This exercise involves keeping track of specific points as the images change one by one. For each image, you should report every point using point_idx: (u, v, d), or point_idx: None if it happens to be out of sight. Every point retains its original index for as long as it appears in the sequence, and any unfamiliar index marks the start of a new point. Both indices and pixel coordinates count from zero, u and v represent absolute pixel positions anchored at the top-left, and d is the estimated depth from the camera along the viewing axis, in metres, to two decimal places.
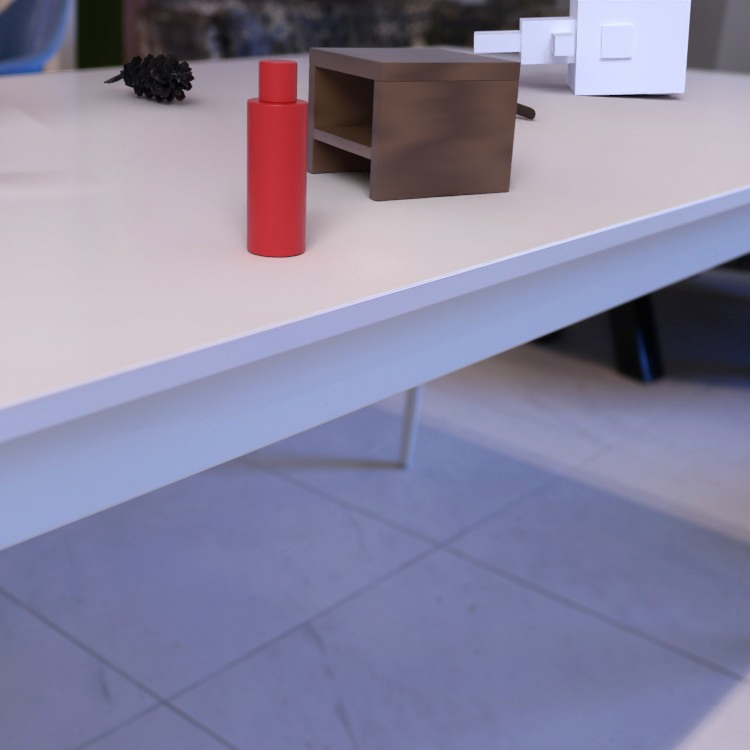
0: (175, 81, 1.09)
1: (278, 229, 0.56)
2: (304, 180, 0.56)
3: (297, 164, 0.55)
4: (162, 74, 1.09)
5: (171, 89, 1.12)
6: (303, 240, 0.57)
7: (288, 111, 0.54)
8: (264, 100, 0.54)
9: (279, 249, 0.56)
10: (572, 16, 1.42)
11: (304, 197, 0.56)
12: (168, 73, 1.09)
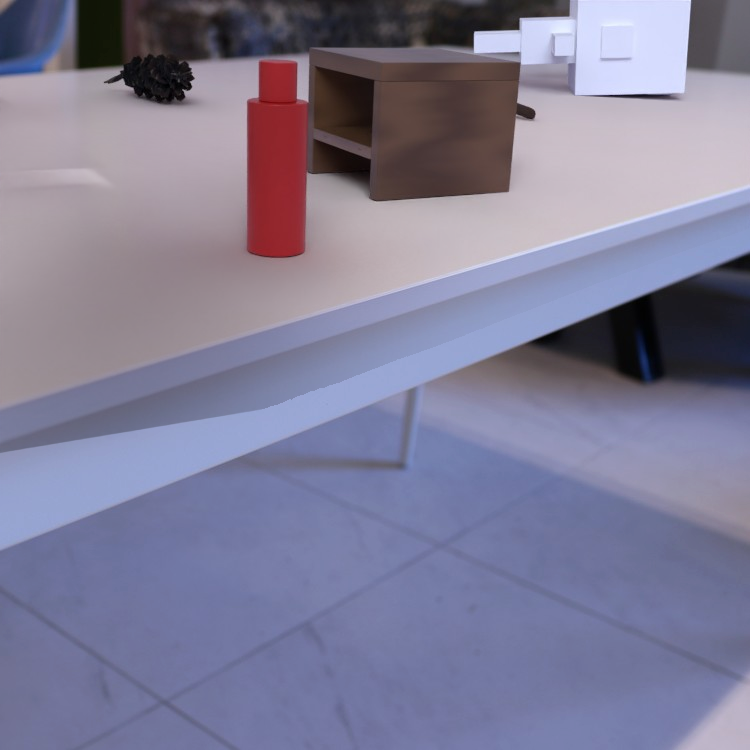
0: (175, 81, 1.09)
1: (278, 229, 0.56)
2: (304, 180, 0.56)
3: (297, 164, 0.55)
4: (162, 74, 1.09)
5: (171, 89, 1.12)
6: (303, 240, 0.57)
7: (288, 111, 0.54)
8: (264, 100, 0.54)
9: (279, 249, 0.56)
10: (572, 16, 1.42)
11: (304, 197, 0.56)
12: (168, 73, 1.09)
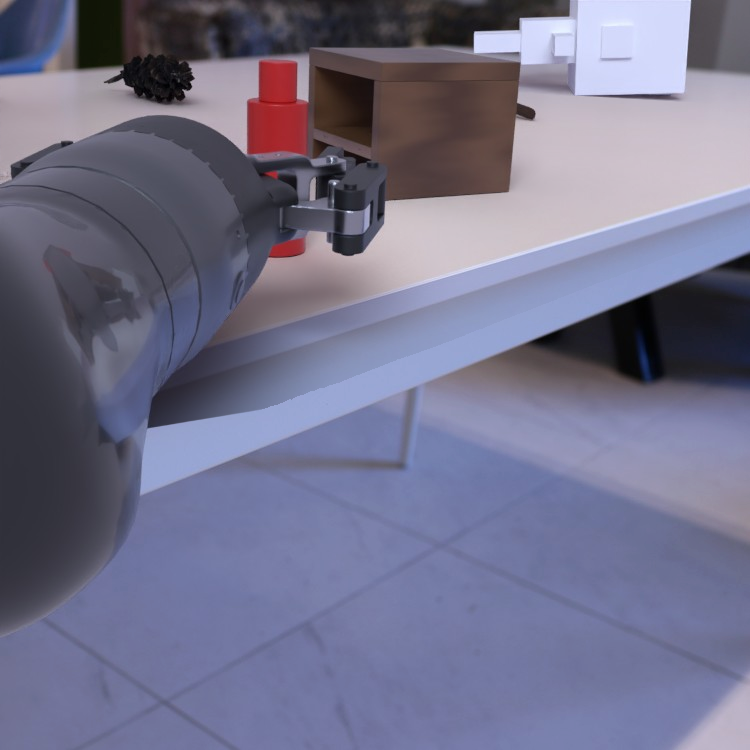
0: (175, 81, 1.09)
1: None
2: None
3: None
4: (162, 74, 1.09)
5: (171, 89, 1.12)
6: (303, 240, 0.57)
7: (288, 111, 0.54)
8: (264, 100, 0.54)
9: (279, 249, 0.56)
10: (572, 16, 1.42)
11: None
12: (168, 73, 1.09)
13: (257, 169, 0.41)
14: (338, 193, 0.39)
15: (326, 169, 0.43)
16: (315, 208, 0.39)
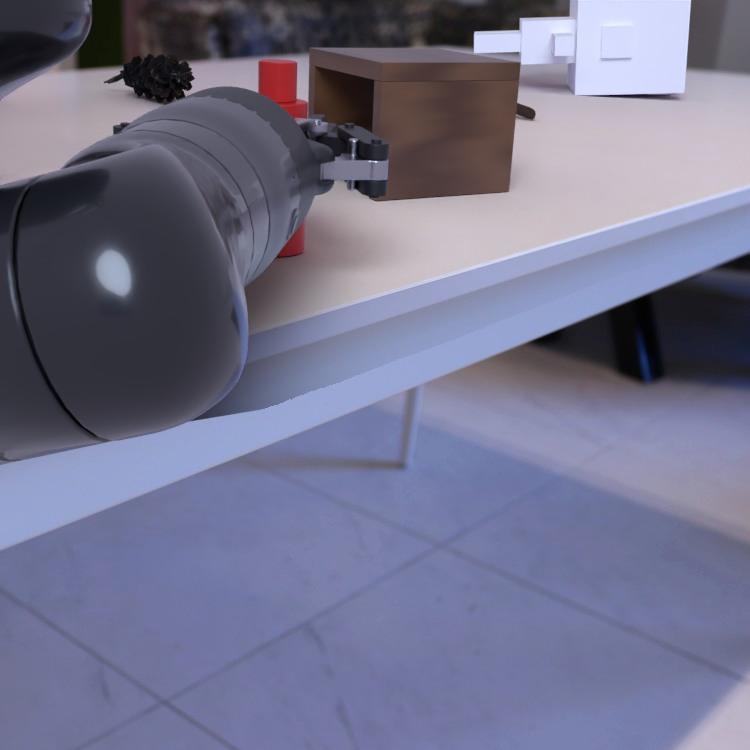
0: (175, 81, 1.09)
1: None
2: None
3: None
4: (162, 74, 1.09)
5: (171, 89, 1.12)
6: (302, 240, 0.57)
7: (288, 111, 0.54)
8: None
9: None
10: (572, 16, 1.42)
11: None
12: (168, 73, 1.09)
13: None
14: (372, 147, 0.48)
15: (321, 130, 0.53)
16: (353, 161, 0.48)
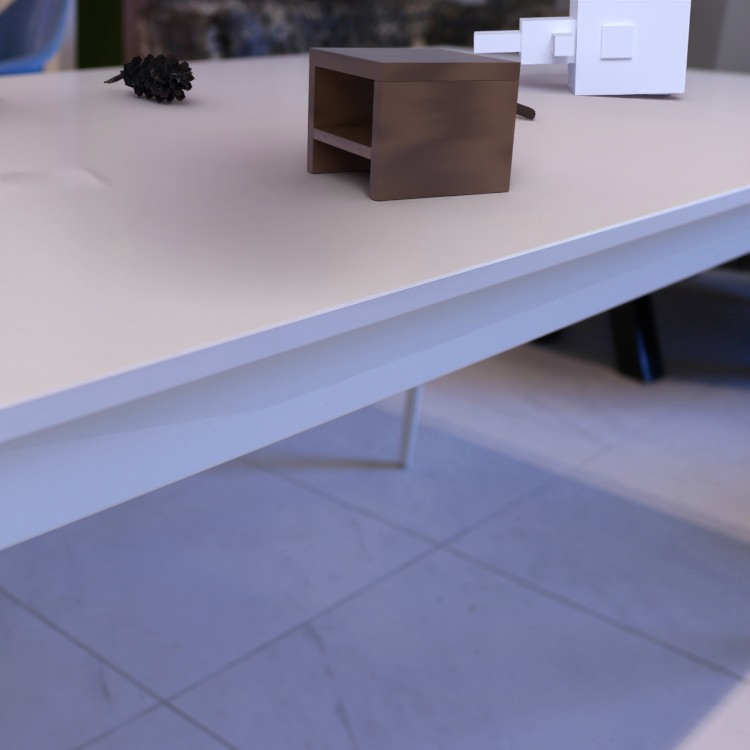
0: (175, 81, 1.09)
1: None
2: None
3: None
4: (162, 74, 1.09)
5: (171, 89, 1.12)
6: None
7: None
8: None
9: None
10: (572, 16, 1.42)
11: None
12: (168, 73, 1.09)
13: None
14: None
15: None
16: None
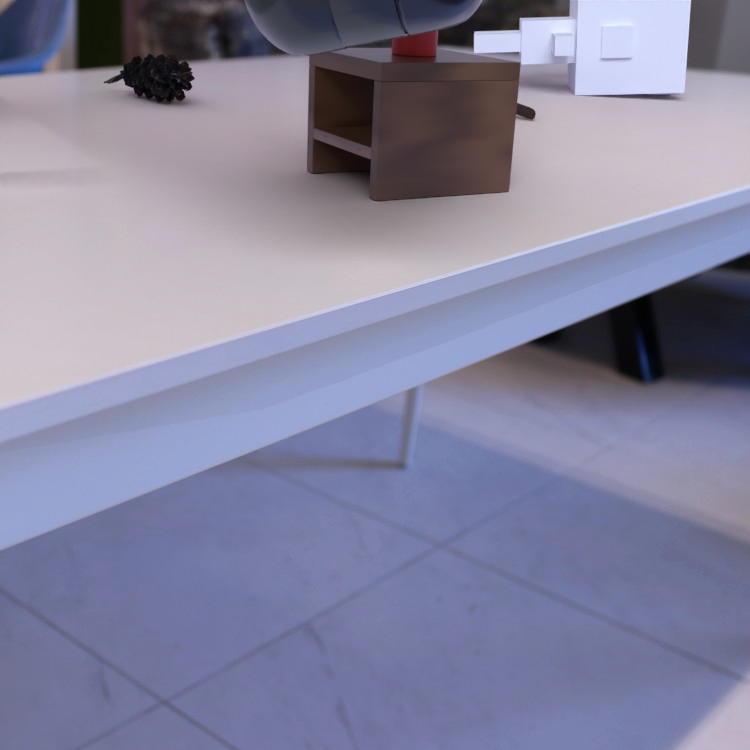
0: (175, 81, 1.09)
1: None
2: None
3: None
4: (162, 74, 1.09)
5: (171, 89, 1.12)
6: (436, 46, 0.74)
7: None
8: None
9: (419, 50, 0.73)
10: (572, 16, 1.42)
11: None
12: (168, 73, 1.09)
13: None
14: None
15: None
16: None
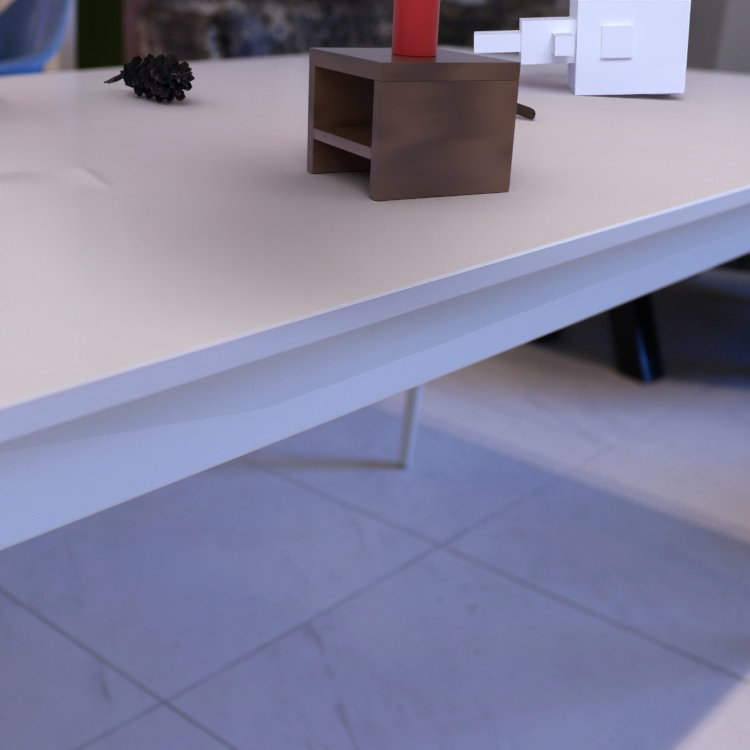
0: (175, 81, 1.09)
1: (419, 34, 0.73)
2: None
3: None
4: (162, 74, 1.09)
5: (171, 89, 1.12)
6: (436, 46, 0.74)
7: None
8: None
9: (419, 50, 0.73)
10: (572, 16, 1.42)
11: (438, 10, 0.73)
12: (168, 73, 1.09)
13: None
14: None
15: None
16: None
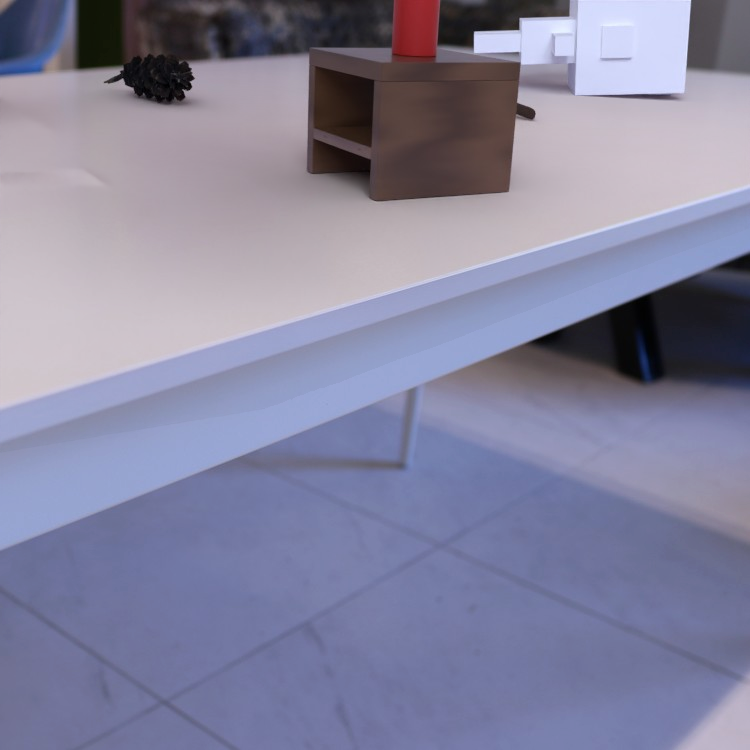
0: (175, 81, 1.09)
1: (419, 34, 0.73)
2: None
3: None
4: (162, 74, 1.09)
5: (171, 89, 1.12)
6: (436, 46, 0.74)
7: None
8: None
9: (419, 50, 0.73)
10: (572, 16, 1.42)
11: (438, 10, 0.73)
12: (168, 73, 1.09)
13: None
14: None
15: None
16: None
